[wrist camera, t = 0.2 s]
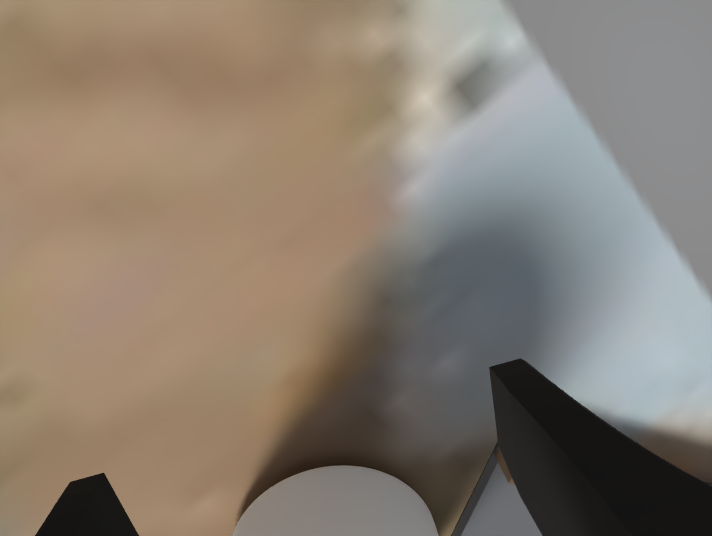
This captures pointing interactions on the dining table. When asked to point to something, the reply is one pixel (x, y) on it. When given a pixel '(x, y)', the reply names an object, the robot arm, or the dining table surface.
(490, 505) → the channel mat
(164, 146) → the dining table surface
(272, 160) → the dining table surface
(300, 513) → the beverage can
